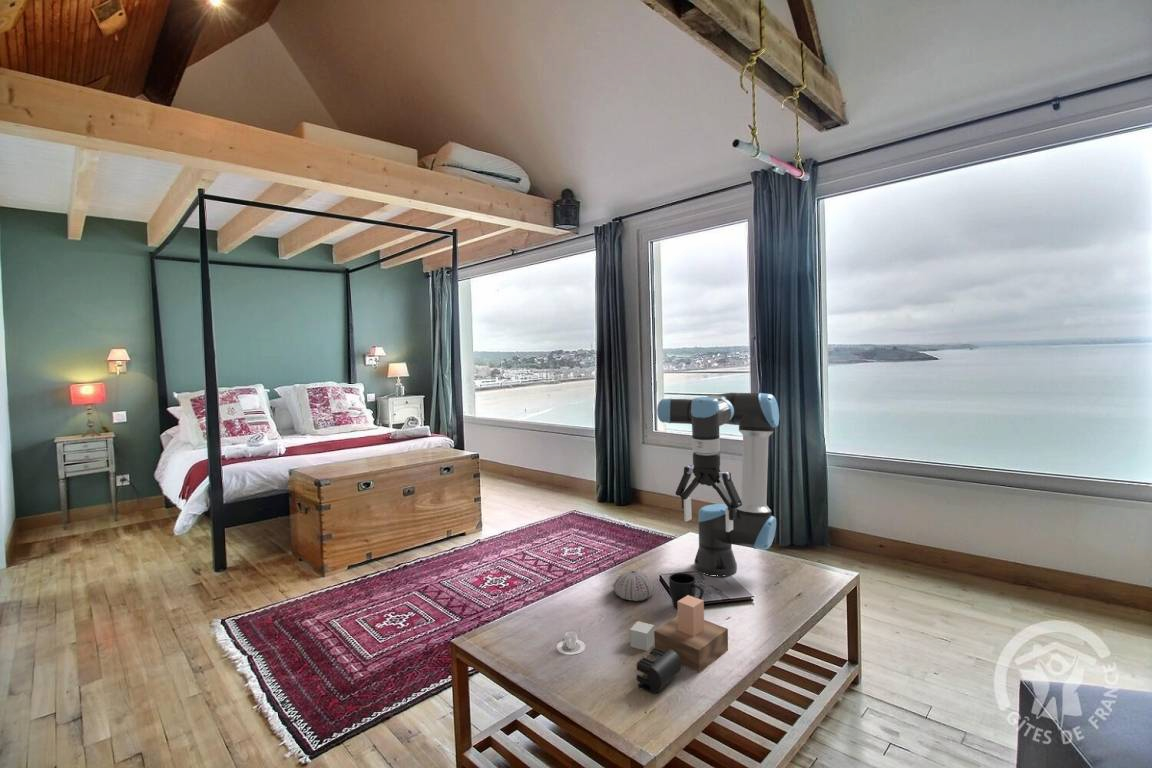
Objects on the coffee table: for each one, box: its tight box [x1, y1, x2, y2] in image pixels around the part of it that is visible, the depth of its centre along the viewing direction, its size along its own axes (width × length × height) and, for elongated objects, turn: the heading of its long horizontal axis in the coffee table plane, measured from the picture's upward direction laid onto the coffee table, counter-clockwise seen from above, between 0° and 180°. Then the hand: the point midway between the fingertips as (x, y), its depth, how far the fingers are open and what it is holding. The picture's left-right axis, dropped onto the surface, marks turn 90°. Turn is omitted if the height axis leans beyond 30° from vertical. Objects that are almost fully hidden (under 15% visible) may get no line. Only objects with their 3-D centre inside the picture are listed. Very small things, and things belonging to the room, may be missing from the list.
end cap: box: [636, 647, 682, 694], centre depth 136 cm, size 10×7×7 cm
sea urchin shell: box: [612, 569, 655, 602], centre depth 184 cm, size 13×14×8 cm
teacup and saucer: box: [556, 631, 586, 656], centre depth 154 cm, size 9×8×4 cm
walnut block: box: [654, 615, 729, 673], centre depth 149 cm, size 14×14×6 cm
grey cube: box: [629, 620, 655, 652], centre depth 154 cm, size 5×5×5 cm
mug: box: [668, 572, 705, 611], centre depth 172 cm, size 8×12×10 cm
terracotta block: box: [677, 595, 705, 637], centre depth 149 cm, size 5×5×8 cm
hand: (708, 525), depth 158 cm, fingers open, 13 cm apart
